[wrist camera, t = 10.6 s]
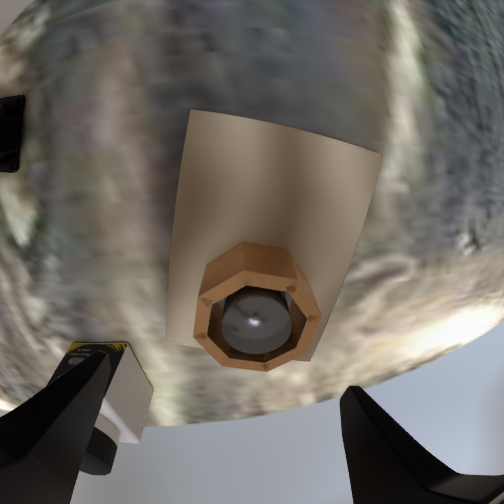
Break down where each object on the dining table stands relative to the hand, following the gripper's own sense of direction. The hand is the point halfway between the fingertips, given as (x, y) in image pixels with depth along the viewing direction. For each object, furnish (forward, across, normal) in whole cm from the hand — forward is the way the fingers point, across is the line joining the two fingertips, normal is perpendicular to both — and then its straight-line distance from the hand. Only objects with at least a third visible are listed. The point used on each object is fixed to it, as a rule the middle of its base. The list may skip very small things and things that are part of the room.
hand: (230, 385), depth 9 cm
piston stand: (+12, -2, 0) cm, 12 cm away
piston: (+10, -2, +2) cm, 11 cm away
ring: (+10, -2, +2) cm, 11 cm away
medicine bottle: (+12, +10, +15) cm, 22 cm away
